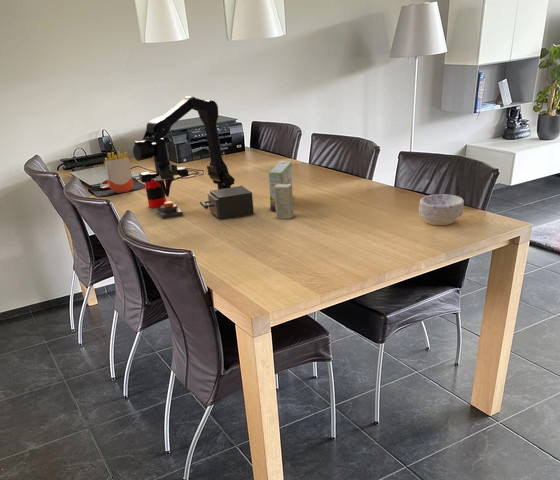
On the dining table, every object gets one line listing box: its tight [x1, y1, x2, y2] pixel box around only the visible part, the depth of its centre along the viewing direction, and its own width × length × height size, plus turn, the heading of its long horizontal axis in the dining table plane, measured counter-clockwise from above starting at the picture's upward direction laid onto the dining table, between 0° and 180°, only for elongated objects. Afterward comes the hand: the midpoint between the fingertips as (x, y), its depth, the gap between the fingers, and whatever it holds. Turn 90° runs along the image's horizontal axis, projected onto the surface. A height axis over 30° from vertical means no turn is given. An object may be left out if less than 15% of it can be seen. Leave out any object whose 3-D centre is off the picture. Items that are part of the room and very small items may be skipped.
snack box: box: [268, 160, 293, 212], centre depth 234 cm, size 21×6×15 cm, turn 168°
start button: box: [164, 200, 174, 207], centre depth 233 cm, size 4×4×2 cm
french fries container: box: [104, 151, 134, 194], centre depth 268 cm, size 5×11×18 cm, turn 114°
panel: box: [157, 203, 183, 220], centre depth 234 cm, size 10×8×4 cm
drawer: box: [199, 192, 220, 219], centre depth 228 cm, size 17×11×7 cm
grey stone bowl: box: [418, 193, 465, 226], centre depth 204 cm, size 15×15×8 cm
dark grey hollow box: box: [209, 185, 255, 221], centre depth 229 cm, size 14×13×9 cm
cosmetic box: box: [274, 183, 295, 220], centre depth 219 cm, size 6×4×12 cm
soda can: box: [144, 178, 167, 209], centre depth 244 cm, size 8×8×12 cm
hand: (167, 196), depth 231 cm, fingers closed
